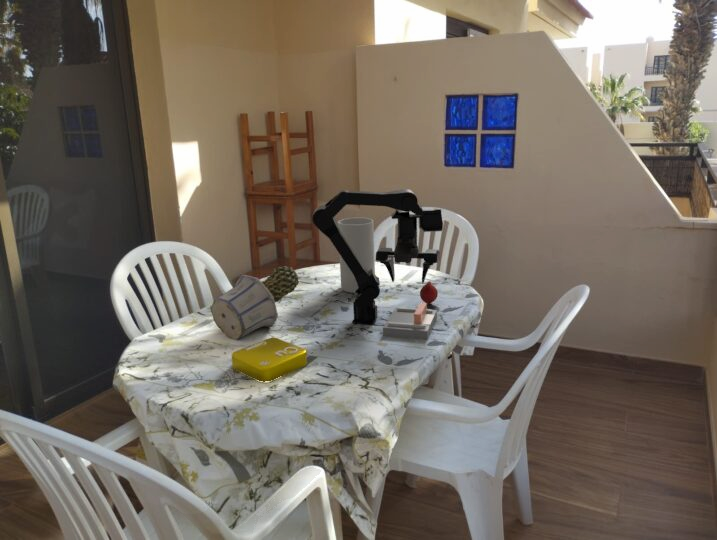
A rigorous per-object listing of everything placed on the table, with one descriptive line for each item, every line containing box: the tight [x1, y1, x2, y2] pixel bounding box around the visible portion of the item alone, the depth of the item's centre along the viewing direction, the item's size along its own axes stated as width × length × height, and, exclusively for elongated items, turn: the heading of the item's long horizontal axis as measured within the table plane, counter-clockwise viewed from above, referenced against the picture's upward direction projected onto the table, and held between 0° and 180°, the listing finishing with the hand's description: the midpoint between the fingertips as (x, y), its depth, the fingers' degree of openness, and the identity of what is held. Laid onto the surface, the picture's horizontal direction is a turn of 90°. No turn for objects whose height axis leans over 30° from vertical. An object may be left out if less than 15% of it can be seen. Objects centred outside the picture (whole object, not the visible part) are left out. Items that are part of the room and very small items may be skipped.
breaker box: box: [382, 306, 438, 340], centre depth 172 cm, size 13×17×3 cm
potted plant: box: [210, 265, 300, 340], centre depth 175 cm, size 18×18×30 cm
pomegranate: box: [419, 280, 439, 305], centre depth 189 cm, size 6×6×8 cm
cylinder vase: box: [337, 217, 376, 294], centre depth 205 cm, size 12×12×25 cm
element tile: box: [230, 336, 308, 382], centre depth 150 cm, size 15×15×5 cm
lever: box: [414, 302, 428, 324], centre depth 170 cm, size 2×10×3 cm, turn 163°
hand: (408, 282), depth 175 cm, fingers open, 9 cm apart
